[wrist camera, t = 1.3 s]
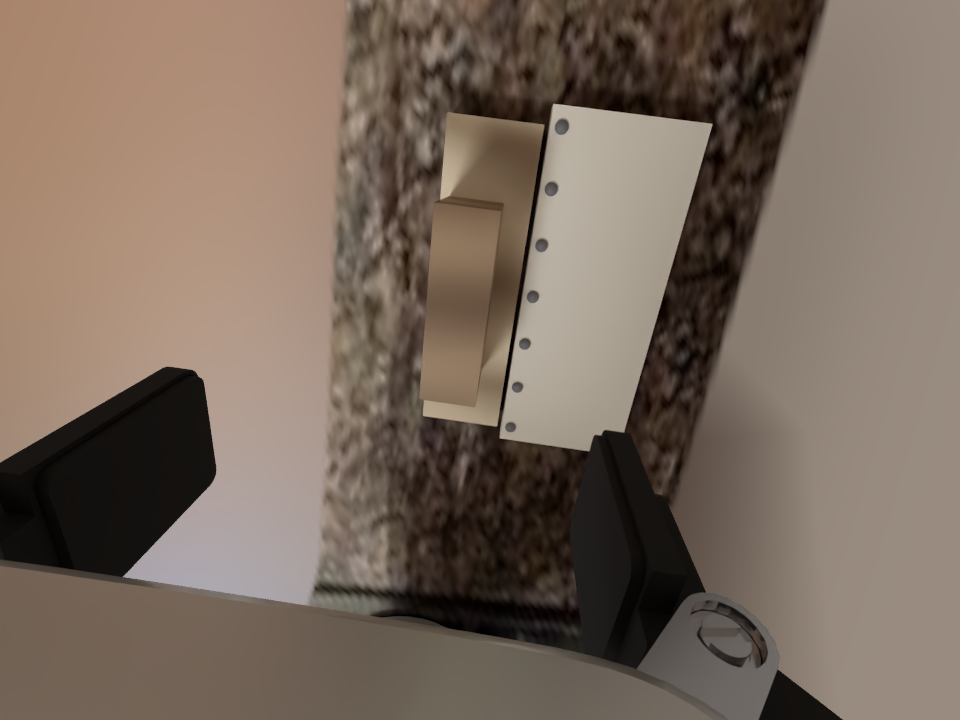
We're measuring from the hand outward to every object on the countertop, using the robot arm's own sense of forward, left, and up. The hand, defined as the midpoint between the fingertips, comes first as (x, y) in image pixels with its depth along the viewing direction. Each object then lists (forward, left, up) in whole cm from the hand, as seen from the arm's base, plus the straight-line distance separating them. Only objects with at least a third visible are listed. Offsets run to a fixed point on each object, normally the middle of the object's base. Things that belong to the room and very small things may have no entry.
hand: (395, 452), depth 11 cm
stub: (0, -1, -19) cm, 19 cm away
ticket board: (+2, -7, -19) cm, 20 cm away
